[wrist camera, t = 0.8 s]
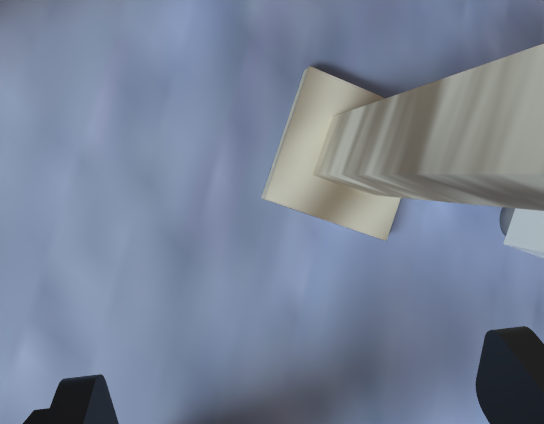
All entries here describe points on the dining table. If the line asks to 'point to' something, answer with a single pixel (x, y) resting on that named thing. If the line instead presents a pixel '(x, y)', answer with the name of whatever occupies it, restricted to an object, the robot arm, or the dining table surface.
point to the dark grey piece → (506, 218)
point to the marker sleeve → (527, 232)
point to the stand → (414, 144)
